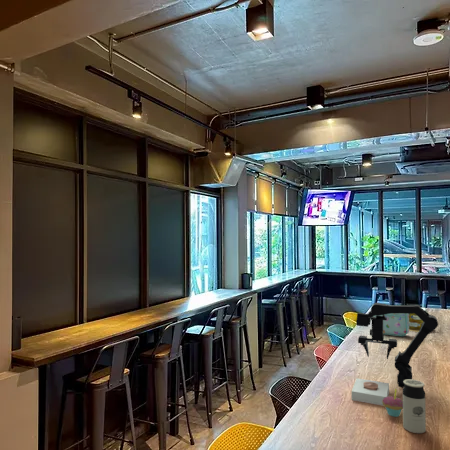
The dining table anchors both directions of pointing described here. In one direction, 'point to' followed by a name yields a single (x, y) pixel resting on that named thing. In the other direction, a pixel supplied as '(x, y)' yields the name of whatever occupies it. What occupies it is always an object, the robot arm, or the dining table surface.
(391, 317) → the lunch box
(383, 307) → the robot arm
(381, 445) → the dining table surface
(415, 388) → the travel mug
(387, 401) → the cupcake
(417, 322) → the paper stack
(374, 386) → the button
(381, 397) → the button box
